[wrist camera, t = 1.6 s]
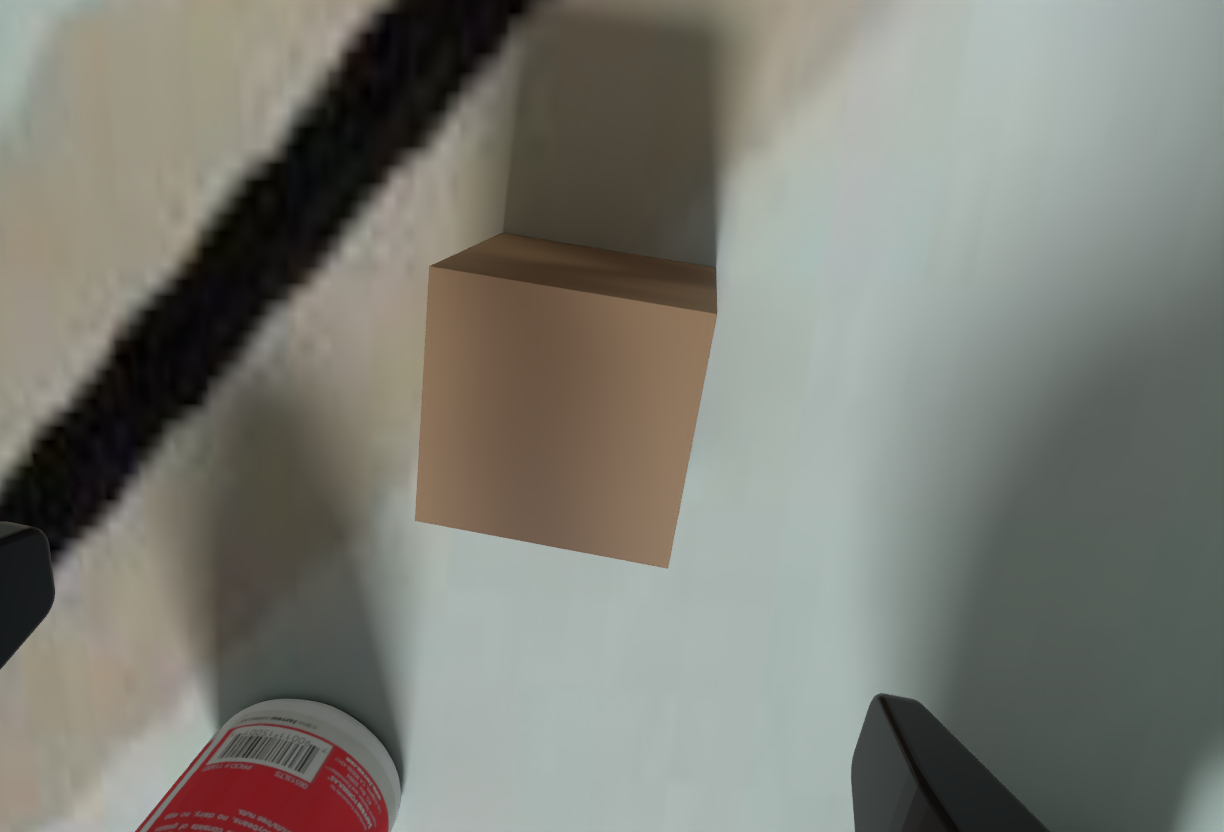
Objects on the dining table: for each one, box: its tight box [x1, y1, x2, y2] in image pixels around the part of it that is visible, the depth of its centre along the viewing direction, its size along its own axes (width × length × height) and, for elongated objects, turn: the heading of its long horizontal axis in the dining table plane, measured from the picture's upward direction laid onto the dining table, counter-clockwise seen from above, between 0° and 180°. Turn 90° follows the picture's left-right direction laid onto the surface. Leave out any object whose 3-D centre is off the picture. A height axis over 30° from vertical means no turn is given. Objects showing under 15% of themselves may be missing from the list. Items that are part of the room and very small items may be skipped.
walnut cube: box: [415, 233, 717, 568], centre depth 16 cm, size 5×5×5 cm
